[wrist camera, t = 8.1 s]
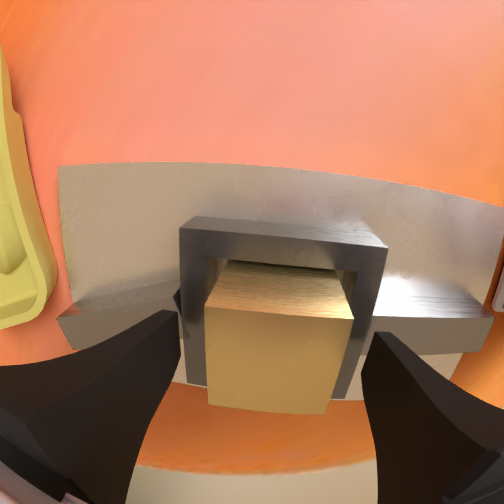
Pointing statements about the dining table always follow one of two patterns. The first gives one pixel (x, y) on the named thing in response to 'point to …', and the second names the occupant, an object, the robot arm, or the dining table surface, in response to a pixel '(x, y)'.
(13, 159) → the plastic component
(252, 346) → the tan small block
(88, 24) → the dining table surface
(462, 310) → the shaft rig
